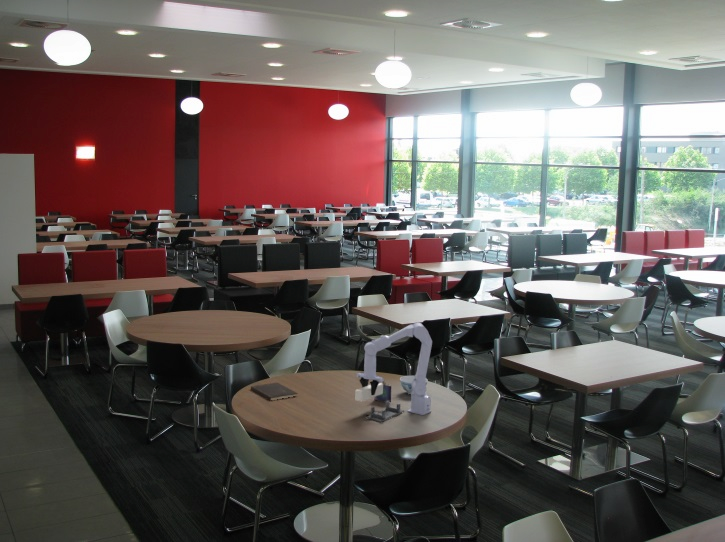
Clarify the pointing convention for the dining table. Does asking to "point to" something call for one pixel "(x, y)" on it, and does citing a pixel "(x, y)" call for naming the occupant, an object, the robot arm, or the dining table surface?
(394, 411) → the cup brackets
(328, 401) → the dining table surface
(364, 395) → the rail
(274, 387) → the hardcover book
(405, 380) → the chinaware
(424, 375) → the robot arm
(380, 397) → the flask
